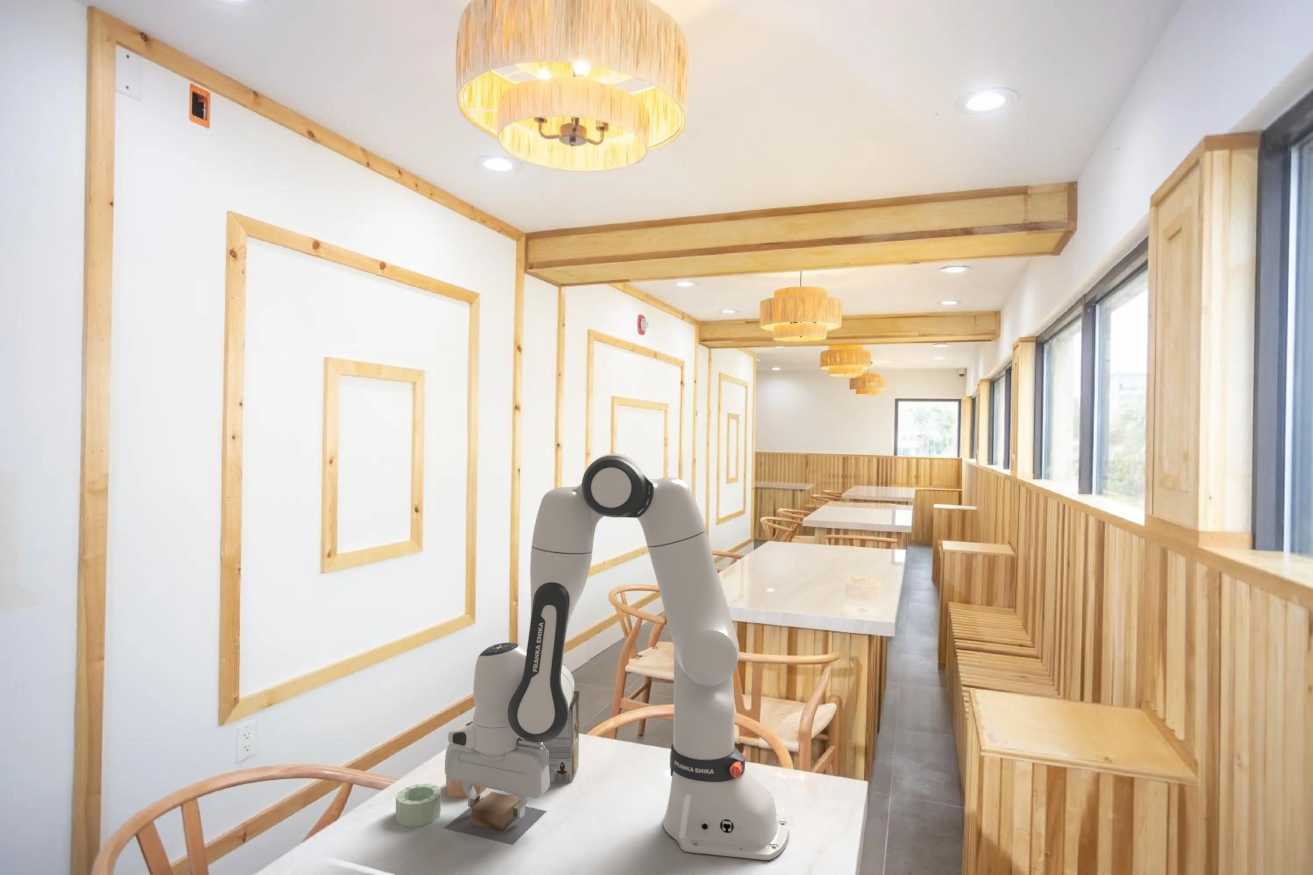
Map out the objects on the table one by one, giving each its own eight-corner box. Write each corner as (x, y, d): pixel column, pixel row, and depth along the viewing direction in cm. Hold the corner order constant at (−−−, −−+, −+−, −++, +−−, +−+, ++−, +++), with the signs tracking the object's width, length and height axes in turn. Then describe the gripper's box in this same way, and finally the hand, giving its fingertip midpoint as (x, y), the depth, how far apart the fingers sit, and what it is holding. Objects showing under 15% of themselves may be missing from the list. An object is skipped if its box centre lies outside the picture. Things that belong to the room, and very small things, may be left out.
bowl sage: (448, 812, 135) (449, 788, 135) (422, 832, 128) (422, 807, 128) (414, 804, 138) (415, 780, 138) (387, 824, 130) (387, 799, 130)
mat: (546, 814, 135) (547, 810, 135) (512, 847, 124) (512, 844, 124) (482, 800, 140) (482, 796, 140) (443, 831, 128) (443, 827, 128)
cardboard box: (521, 814, 133) (521, 797, 133) (502, 831, 127) (502, 814, 127) (491, 807, 136) (491, 791, 136) (471, 824, 130) (471, 807, 130)
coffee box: (549, 764, 155) (550, 689, 155) (578, 765, 155) (580, 690, 155) (541, 785, 146) (542, 705, 146) (573, 785, 146) (574, 705, 146)
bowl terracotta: (493, 785, 145) (494, 763, 146) (471, 803, 138) (472, 779, 138) (461, 778, 148) (462, 756, 148) (438, 796, 141) (438, 772, 141)
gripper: (556, 736, 131) (555, 813, 131) (461, 719, 138) (459, 792, 138) (539, 750, 125) (538, 831, 125) (440, 732, 132) (438, 808, 132)
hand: (496, 810), depth 132 cm, fingers open, 8 cm apart
